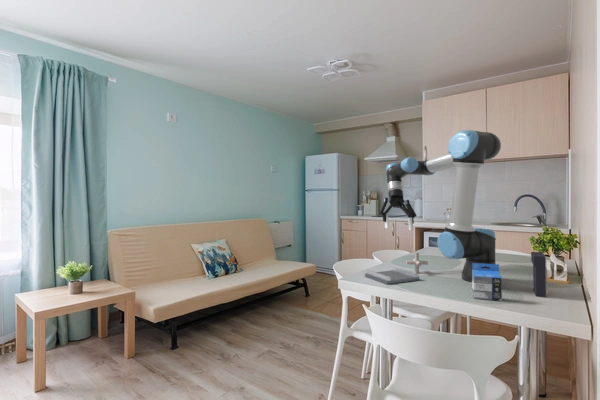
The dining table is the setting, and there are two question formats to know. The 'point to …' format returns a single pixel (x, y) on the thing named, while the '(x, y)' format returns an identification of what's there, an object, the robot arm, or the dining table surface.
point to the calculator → (539, 274)
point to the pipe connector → (417, 262)
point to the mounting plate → (392, 276)
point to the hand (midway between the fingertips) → (399, 229)
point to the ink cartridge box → (486, 282)
